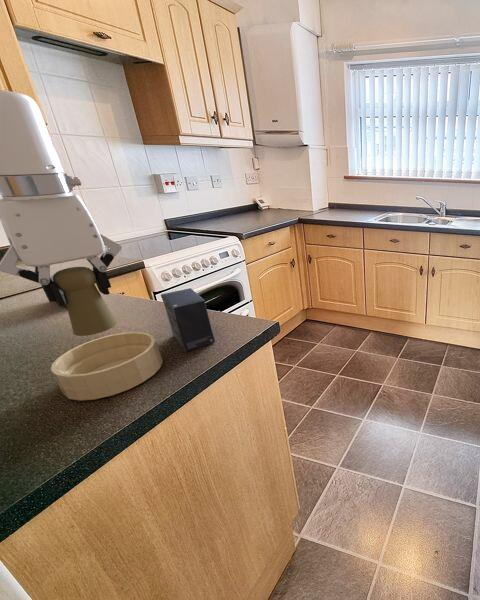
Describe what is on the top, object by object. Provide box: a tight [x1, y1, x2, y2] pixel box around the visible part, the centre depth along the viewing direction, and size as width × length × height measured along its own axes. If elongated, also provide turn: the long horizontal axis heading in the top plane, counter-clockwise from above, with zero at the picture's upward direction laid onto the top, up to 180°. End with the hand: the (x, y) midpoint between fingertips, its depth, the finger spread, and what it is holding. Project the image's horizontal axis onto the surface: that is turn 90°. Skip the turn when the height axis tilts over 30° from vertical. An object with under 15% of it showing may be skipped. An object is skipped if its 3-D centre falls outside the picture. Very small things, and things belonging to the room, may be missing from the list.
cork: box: [53, 266, 118, 337], centre depth 58 cm, size 6×6×11 cm
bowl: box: [50, 331, 163, 401], centre depth 63 cm, size 15×15×6 cm
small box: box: [160, 287, 216, 353], centre depth 75 cm, size 11×6×10 cm, turn 44°
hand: (83, 297), depth 57 cm, fingers closed on cork, 5 cm apart
